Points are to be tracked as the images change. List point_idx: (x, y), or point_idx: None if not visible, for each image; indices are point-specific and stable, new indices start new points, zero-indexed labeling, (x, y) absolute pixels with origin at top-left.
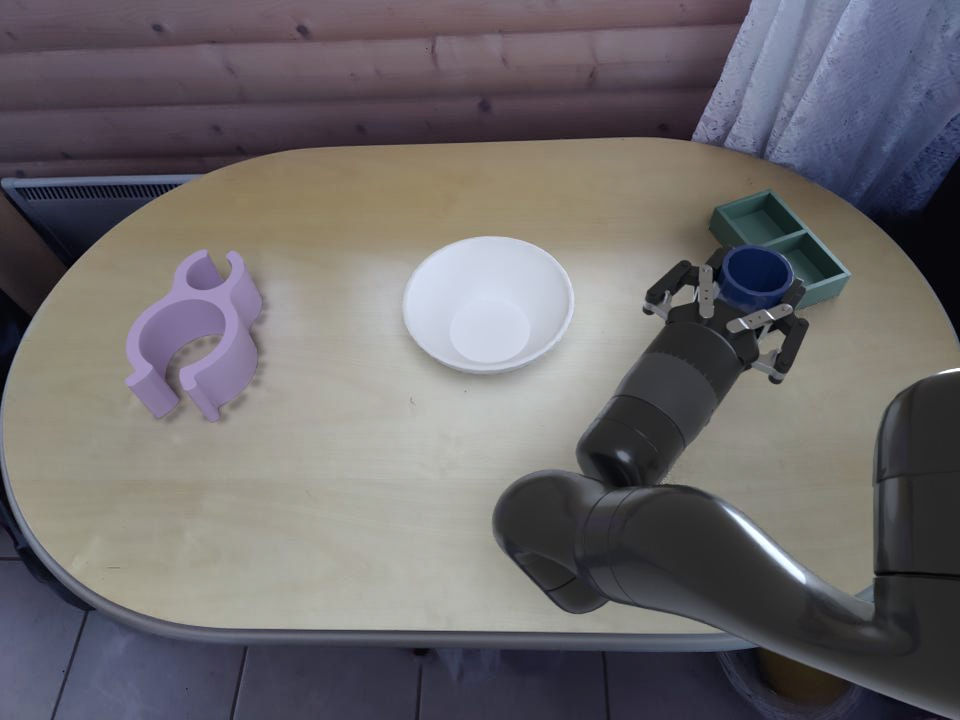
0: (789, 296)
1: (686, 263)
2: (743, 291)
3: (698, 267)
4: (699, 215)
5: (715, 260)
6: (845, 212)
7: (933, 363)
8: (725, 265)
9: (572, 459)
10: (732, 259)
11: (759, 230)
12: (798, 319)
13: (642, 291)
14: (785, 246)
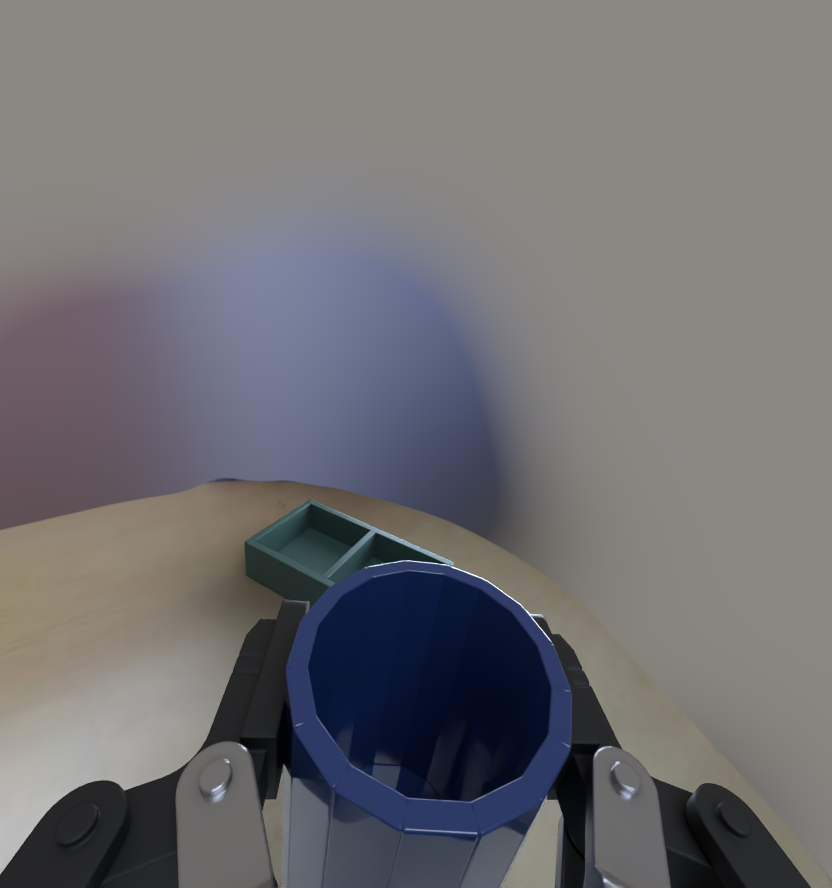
0: (572, 700)
1: (82, 817)
2: (459, 834)
3: (179, 776)
4: (228, 562)
5: (254, 691)
6: (392, 504)
7: (587, 631)
8: (305, 709)
9: None
10: (318, 650)
11: (316, 552)
12: (703, 806)
13: (136, 762)
14: (359, 559)
